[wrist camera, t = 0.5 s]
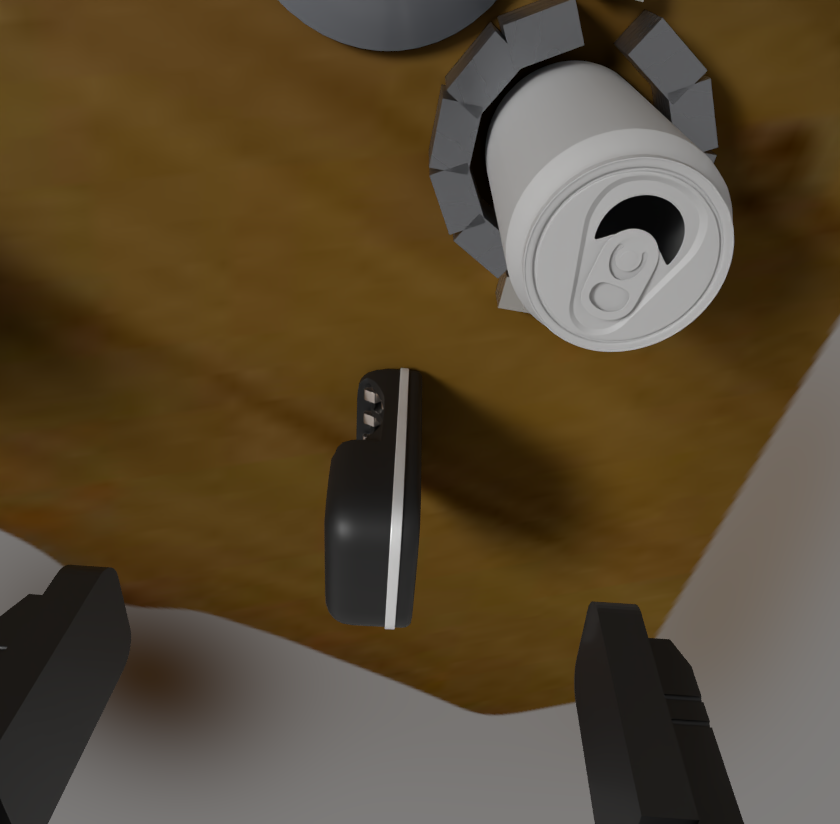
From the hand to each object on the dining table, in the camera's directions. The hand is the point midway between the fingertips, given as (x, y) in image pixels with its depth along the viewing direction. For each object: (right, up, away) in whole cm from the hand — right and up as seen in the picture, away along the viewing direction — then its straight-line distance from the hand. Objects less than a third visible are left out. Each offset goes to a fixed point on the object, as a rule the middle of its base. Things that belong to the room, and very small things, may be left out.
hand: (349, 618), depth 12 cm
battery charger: (-1, +3, +25) cm, 25 cm away
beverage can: (+7, +15, +17) cm, 24 cm away
